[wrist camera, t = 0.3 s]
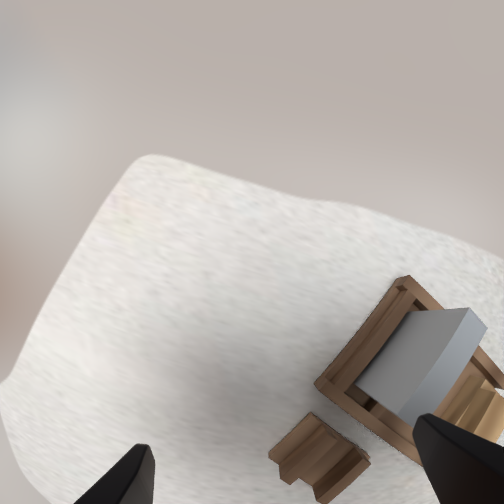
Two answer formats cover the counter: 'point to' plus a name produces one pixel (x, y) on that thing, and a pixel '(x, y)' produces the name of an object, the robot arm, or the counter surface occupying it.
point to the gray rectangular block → (421, 361)
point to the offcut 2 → (484, 415)
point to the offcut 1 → (465, 399)
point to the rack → (365, 348)
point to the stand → (319, 458)
